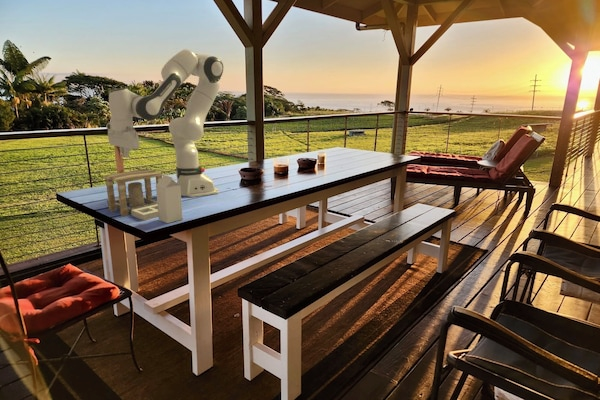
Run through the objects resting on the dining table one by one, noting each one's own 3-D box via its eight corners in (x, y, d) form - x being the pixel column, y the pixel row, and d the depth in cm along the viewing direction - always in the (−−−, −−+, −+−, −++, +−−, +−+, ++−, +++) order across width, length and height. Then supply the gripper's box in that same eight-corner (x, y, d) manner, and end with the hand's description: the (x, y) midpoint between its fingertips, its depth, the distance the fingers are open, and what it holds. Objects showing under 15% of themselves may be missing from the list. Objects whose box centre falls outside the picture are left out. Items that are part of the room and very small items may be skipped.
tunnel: (165, 206, 181) (162, 172, 177) (123, 216, 166) (119, 179, 161) (149, 201, 189) (146, 168, 184) (109, 210, 174) (104, 175, 169)
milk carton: (167, 223, 158) (163, 178, 153) (158, 219, 163) (154, 175, 158) (182, 219, 164) (179, 175, 158) (173, 216, 168) (170, 173, 163)
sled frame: (159, 207, 179) (154, 147, 171) (130, 214, 168) (123, 151, 160) (136, 199, 191) (130, 143, 183) (107, 205, 180) (100, 146, 172)
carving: (139, 205, 182) (137, 180, 179) (148, 208, 177) (145, 183, 174) (126, 208, 177) (124, 183, 174) (135, 211, 173) (132, 185, 169)
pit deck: (173, 212, 172) (173, 207, 172) (144, 220, 162) (143, 214, 161) (160, 208, 178) (160, 203, 178) (131, 215, 168) (131, 210, 167)
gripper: (141, 127, 167) (144, 159, 171) (117, 124, 179) (121, 153, 183) (128, 128, 162) (131, 160, 166) (104, 125, 174) (107, 155, 178)
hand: (125, 157), depth 174 cm, fingers closed
